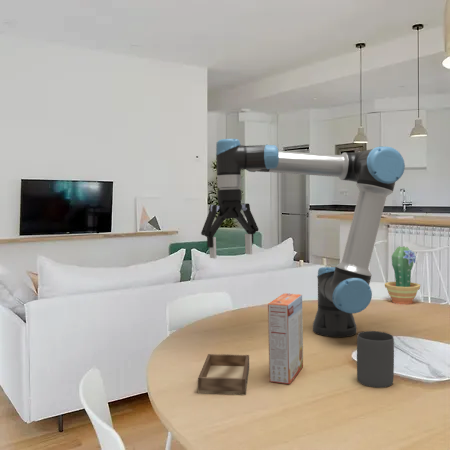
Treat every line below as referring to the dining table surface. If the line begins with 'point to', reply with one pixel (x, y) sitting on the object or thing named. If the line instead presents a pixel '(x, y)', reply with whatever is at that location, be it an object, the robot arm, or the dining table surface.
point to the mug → (375, 359)
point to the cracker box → (285, 338)
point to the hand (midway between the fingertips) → (231, 256)
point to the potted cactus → (402, 277)
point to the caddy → (224, 374)
